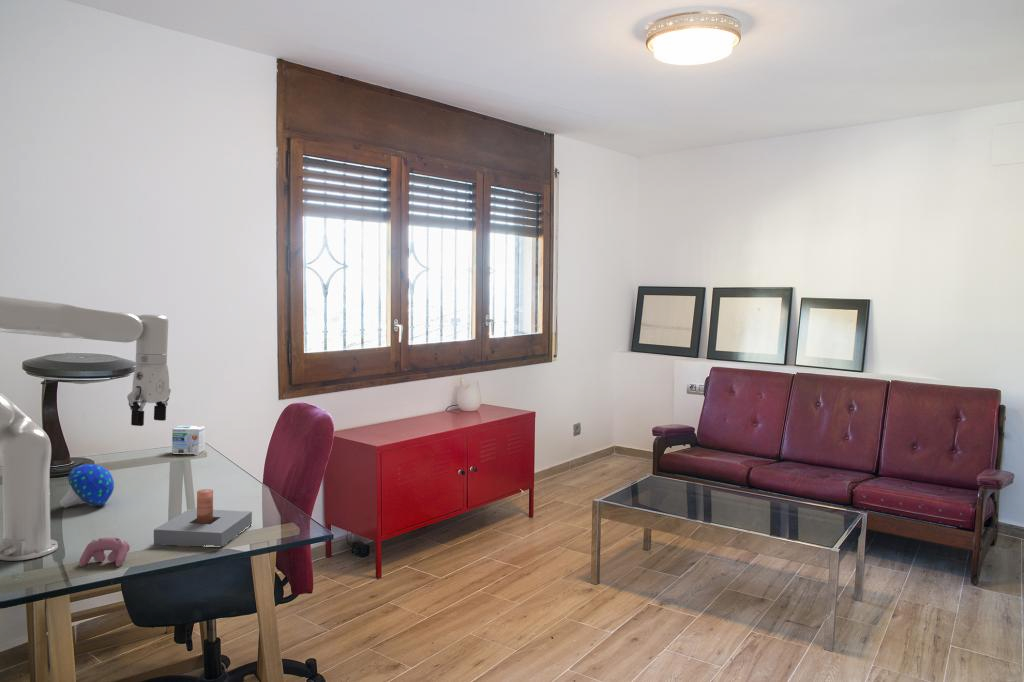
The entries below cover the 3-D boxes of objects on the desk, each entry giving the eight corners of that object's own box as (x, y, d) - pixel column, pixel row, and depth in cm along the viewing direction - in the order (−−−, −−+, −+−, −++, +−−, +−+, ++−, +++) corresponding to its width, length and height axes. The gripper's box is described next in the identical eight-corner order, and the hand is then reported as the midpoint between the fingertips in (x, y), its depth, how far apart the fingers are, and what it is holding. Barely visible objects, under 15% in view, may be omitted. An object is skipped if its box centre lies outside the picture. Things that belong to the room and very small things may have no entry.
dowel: (208, 537, 185) (208, 493, 185) (193, 536, 185) (194, 492, 185) (215, 532, 189) (215, 489, 189) (201, 531, 189) (201, 488, 189)
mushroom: (46, 478, 209) (92, 447, 213) (80, 508, 216) (124, 477, 220) (42, 500, 197) (91, 466, 201) (79, 531, 204) (125, 498, 208)
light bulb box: (171, 455, 276) (171, 428, 275) (178, 451, 283) (178, 425, 282) (199, 455, 277) (199, 428, 276) (205, 451, 284) (205, 425, 283)
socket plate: (221, 548, 178) (221, 532, 178) (153, 544, 179) (153, 529, 179) (251, 525, 196) (251, 511, 196) (190, 522, 197) (190, 508, 197)
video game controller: (127, 568, 167) (134, 538, 170) (119, 566, 163) (125, 536, 166) (85, 568, 167) (92, 538, 169) (75, 566, 162) (83, 535, 165)
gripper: (144, 363, 179) (141, 428, 179) (182, 359, 196) (180, 419, 196) (117, 361, 179) (114, 426, 180) (157, 357, 197) (155, 417, 197)
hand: (148, 422), depth 188 cm, fingers open, 9 cm apart
